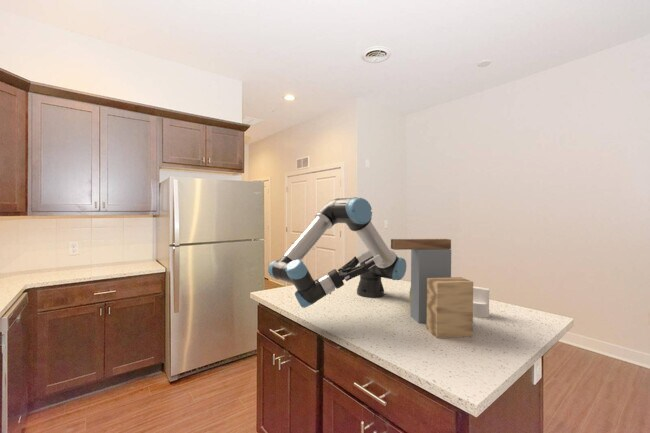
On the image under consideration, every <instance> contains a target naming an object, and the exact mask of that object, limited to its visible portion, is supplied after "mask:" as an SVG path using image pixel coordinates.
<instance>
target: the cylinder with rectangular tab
mask: <svg viewBox="0 0 650 433" xmlns="http://www.w3.org/2000/svg"><path fill="white" fill-rule="evenodd" d="M489 317H490V288H487V287H480V286H474V285H473V318H478V319H487V318H489Z"/></svg>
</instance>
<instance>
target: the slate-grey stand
mask: <svg viewBox="0 0 650 433" xmlns="http://www.w3.org/2000/svg"><path fill="white" fill-rule="evenodd" d="M449 277H452V249H411V251H410V288H411V306H410V317H411V318H412V319H413V320H415V322H417V323H418V324H425V323H426V324H427V278H449Z"/></svg>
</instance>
